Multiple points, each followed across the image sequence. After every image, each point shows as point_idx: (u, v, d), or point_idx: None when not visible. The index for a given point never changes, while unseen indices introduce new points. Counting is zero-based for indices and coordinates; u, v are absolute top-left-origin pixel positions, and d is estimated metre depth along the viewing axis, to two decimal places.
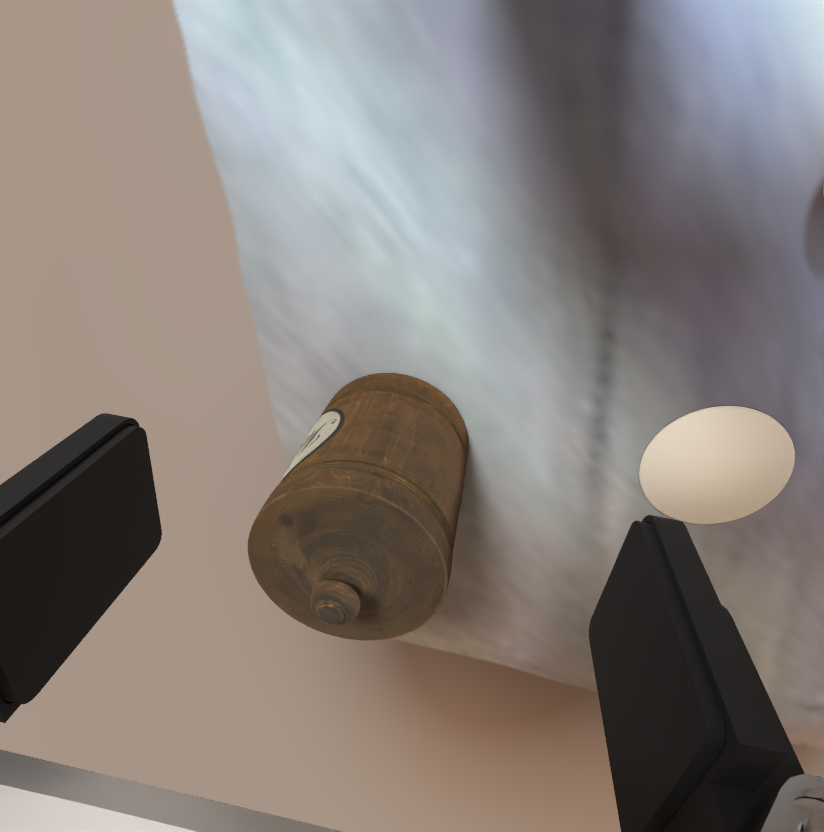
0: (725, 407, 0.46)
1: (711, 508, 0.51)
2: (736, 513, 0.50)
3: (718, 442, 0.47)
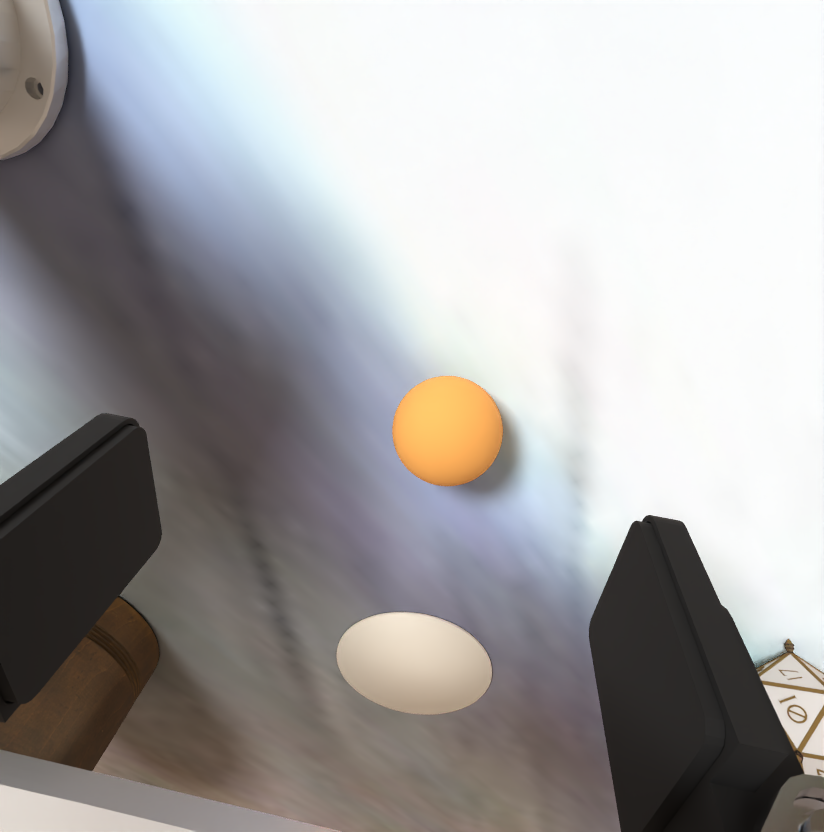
0: (401, 614, 0.41)
1: (423, 701, 0.46)
2: (450, 706, 0.46)
3: (407, 644, 0.42)
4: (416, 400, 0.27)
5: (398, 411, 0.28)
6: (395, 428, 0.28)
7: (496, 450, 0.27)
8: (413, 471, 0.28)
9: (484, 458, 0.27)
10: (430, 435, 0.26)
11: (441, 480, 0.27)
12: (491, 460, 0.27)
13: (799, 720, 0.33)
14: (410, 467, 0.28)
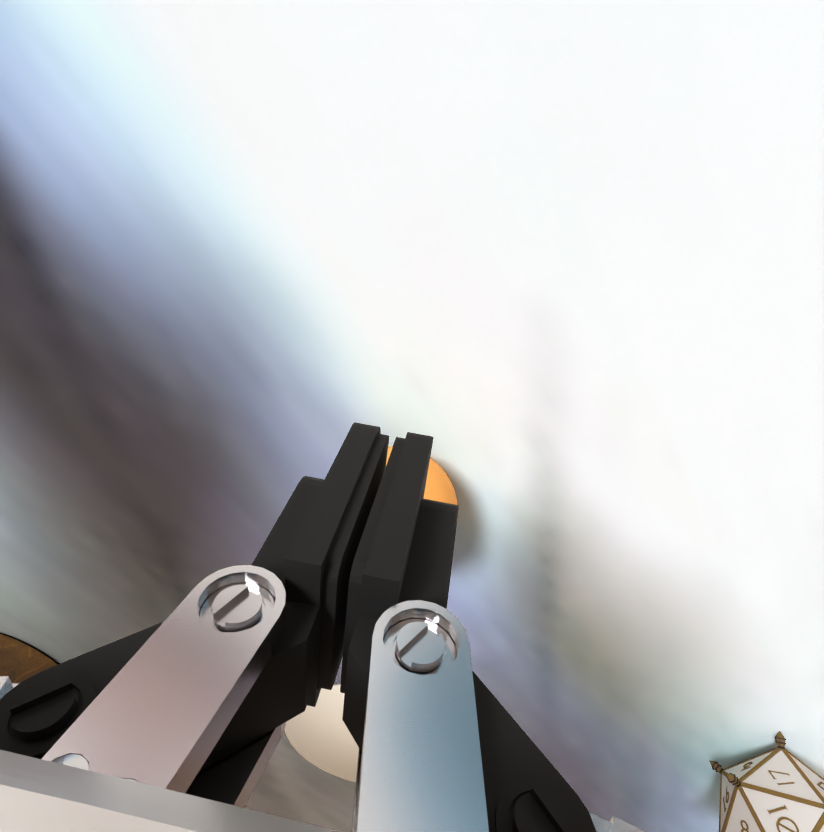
0: None
1: None
2: None
3: None
4: None
5: None
6: None
7: None
8: None
9: None
10: None
11: None
12: None
13: None
14: None
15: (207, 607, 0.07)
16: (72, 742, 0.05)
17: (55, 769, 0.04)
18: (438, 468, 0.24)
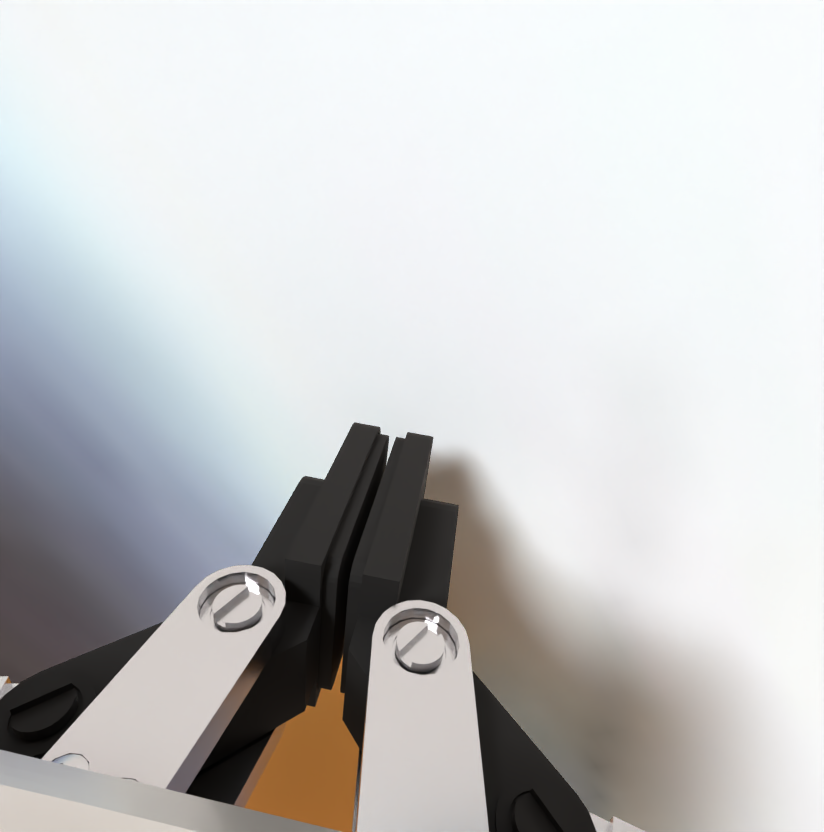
0: None
1: None
2: None
3: None
4: None
5: None
6: None
7: None
8: None
9: None
10: None
11: None
12: None
13: None
14: None
15: (207, 607, 0.07)
16: (72, 742, 0.05)
17: (55, 769, 0.04)
18: None
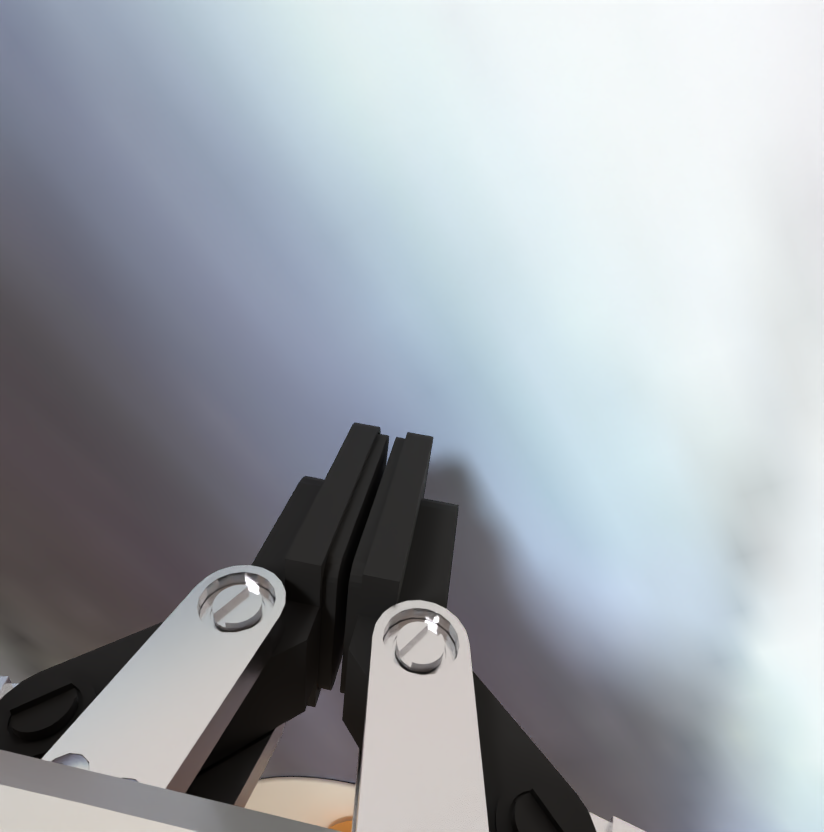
0: (318, 784, 0.20)
1: None
2: None
3: None
4: None
5: None
6: None
7: None
8: None
9: None
10: None
11: None
12: None
13: None
14: None
15: (207, 607, 0.07)
16: (72, 742, 0.05)
17: (55, 769, 0.04)
18: None
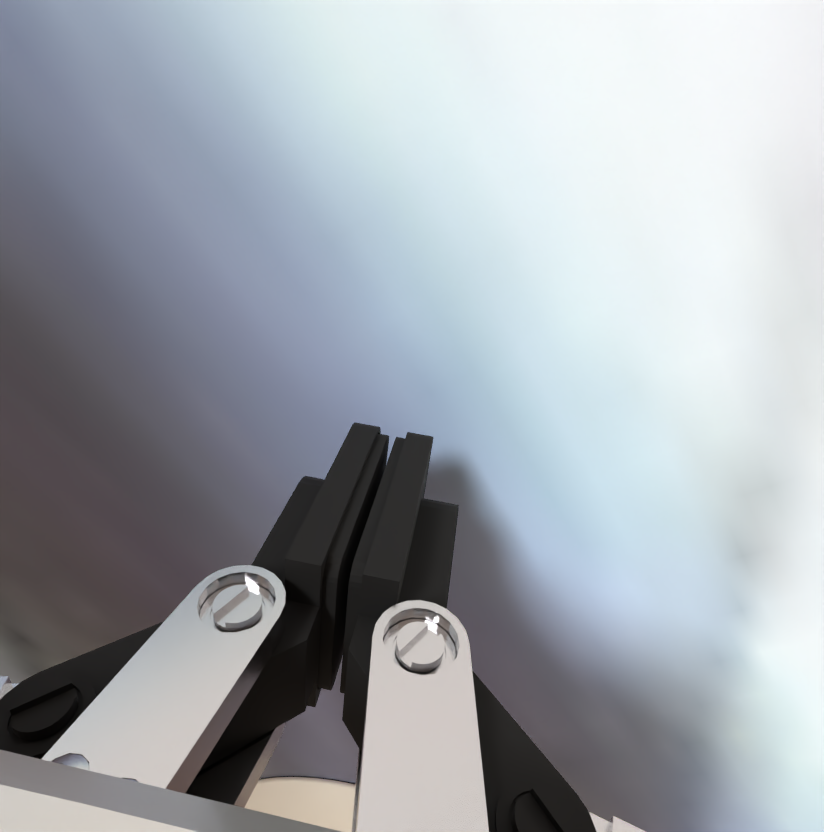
0: (318, 784, 0.20)
1: None
2: None
3: None
4: None
5: None
6: None
7: None
8: None
9: None
10: None
11: None
12: None
13: None
14: None
15: (207, 607, 0.07)
16: (72, 742, 0.05)
17: (55, 769, 0.04)
18: None
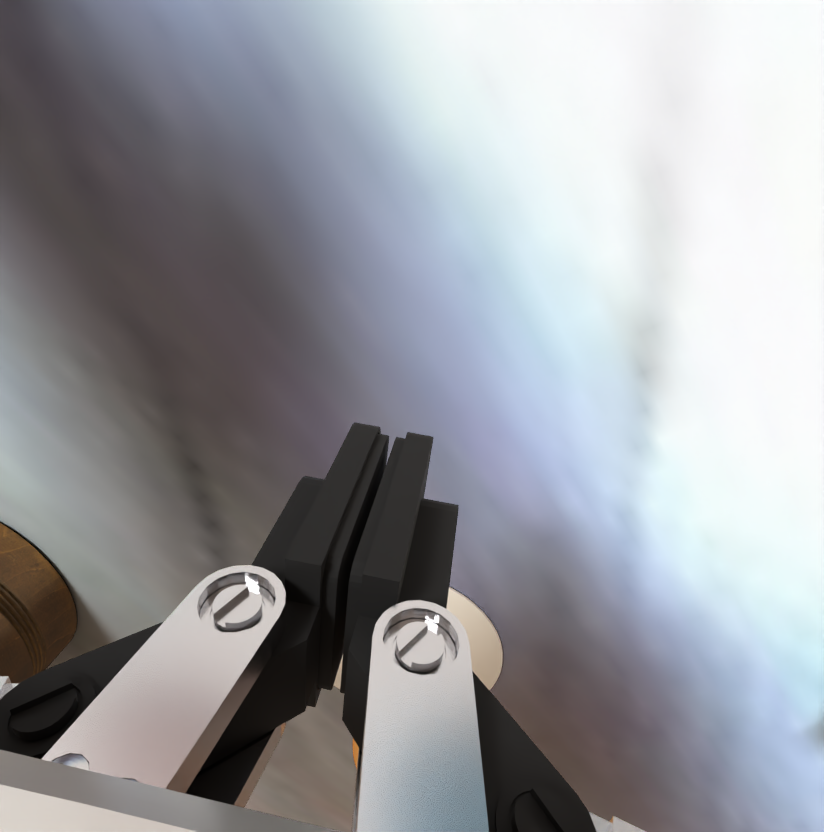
0: None
1: None
2: None
3: None
4: None
5: None
6: None
7: None
8: None
9: None
10: None
11: None
12: None
13: None
14: None
15: (207, 607, 0.07)
16: (72, 742, 0.05)
17: (55, 769, 0.04)
18: None
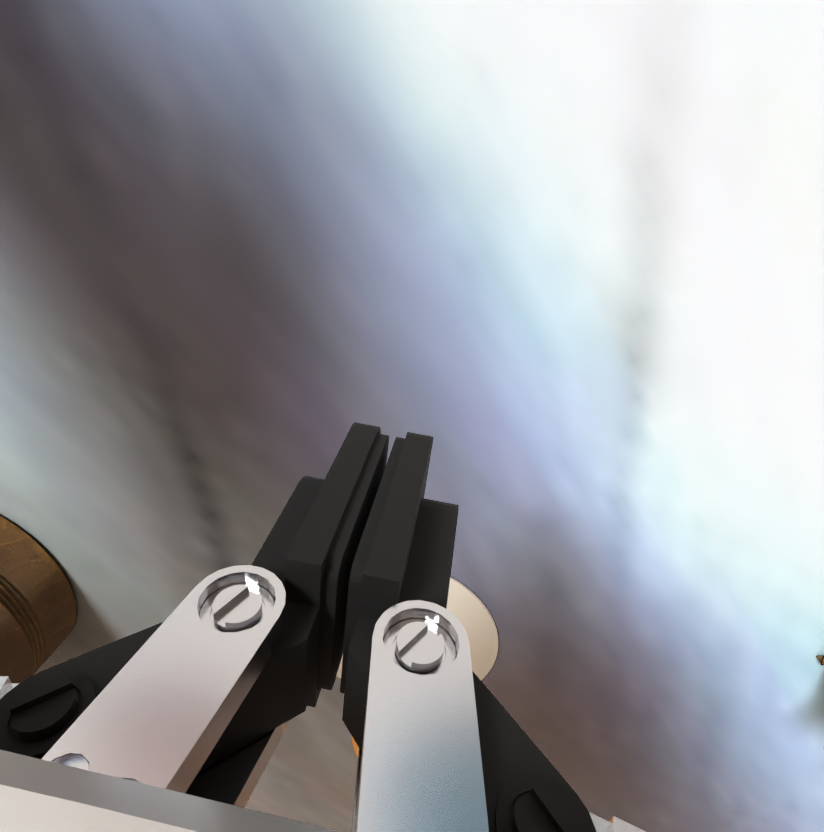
0: None
1: None
2: None
3: None
4: None
5: None
6: None
7: None
8: None
9: None
10: None
11: None
12: None
13: None
14: None
15: (207, 607, 0.07)
16: (72, 742, 0.05)
17: (55, 769, 0.04)
18: None
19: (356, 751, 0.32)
